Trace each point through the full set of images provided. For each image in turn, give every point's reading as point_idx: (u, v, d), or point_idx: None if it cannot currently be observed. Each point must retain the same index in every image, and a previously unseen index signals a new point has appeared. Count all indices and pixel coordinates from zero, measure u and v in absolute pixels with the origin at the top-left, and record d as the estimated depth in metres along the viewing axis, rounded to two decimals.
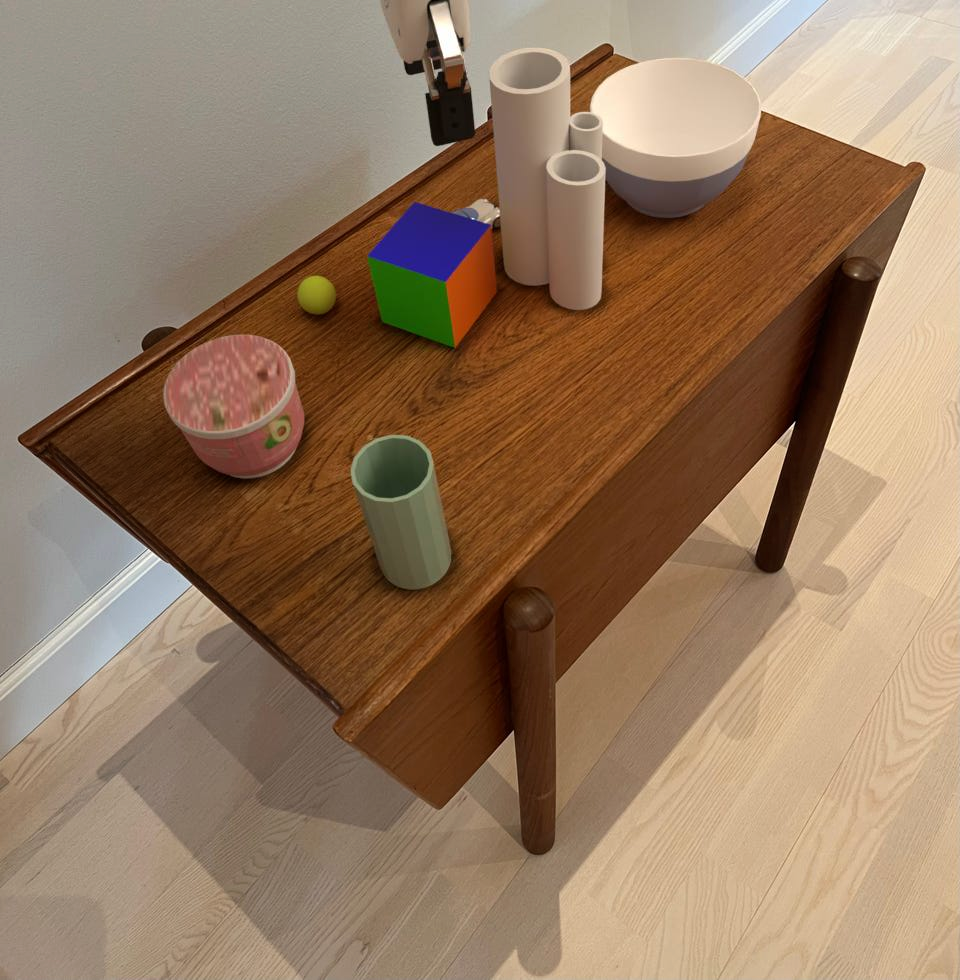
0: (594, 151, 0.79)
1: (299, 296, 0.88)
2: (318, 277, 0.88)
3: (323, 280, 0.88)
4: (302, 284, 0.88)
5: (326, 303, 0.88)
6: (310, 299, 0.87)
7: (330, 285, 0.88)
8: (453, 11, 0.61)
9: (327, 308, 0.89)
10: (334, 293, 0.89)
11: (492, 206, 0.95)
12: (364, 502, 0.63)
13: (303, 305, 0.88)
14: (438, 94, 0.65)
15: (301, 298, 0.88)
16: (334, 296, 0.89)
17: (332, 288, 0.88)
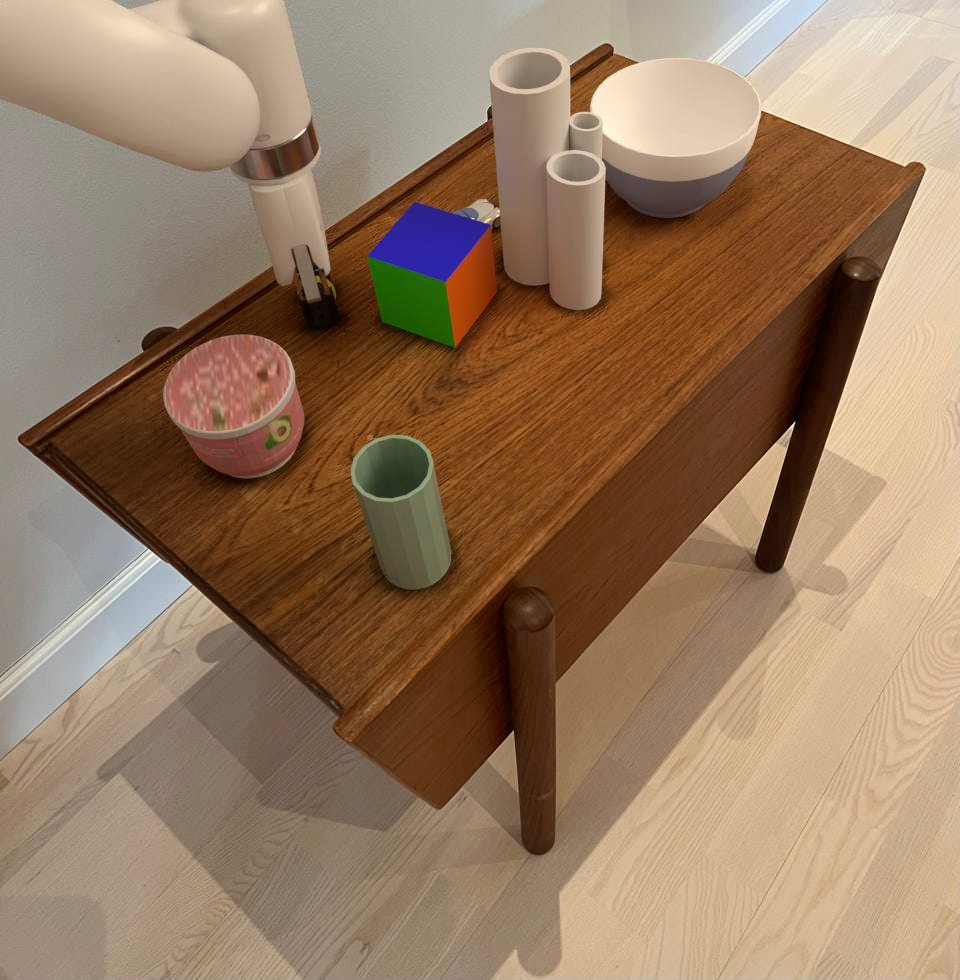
0: (594, 151, 0.79)
1: None
2: (318, 277, 0.88)
3: None
4: (302, 284, 0.88)
5: None
6: None
7: (330, 285, 0.88)
8: (312, 252, 0.79)
9: None
10: (334, 293, 0.89)
11: (492, 206, 0.95)
12: (364, 502, 0.63)
13: None
14: (305, 298, 0.85)
15: None
16: (334, 296, 0.89)
17: (332, 288, 0.88)
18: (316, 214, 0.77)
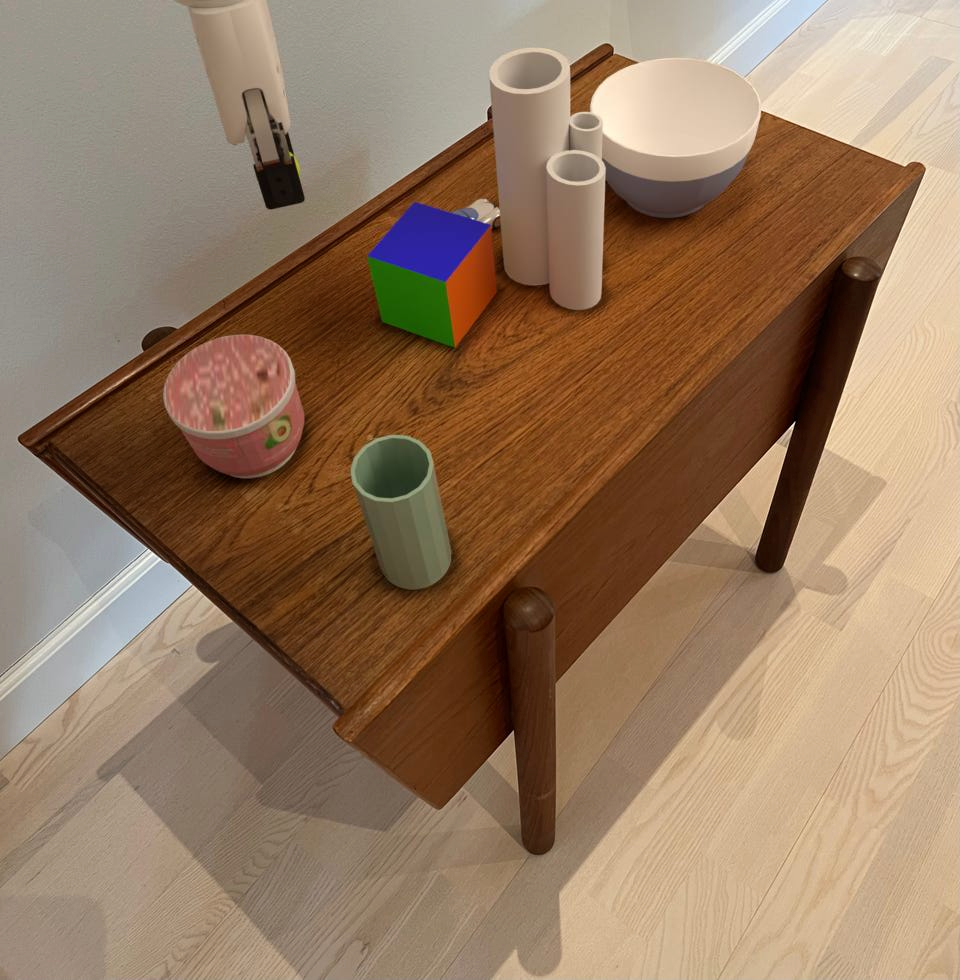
0: (594, 151, 0.79)
1: None
2: None
3: None
4: None
5: None
6: None
7: None
8: (268, 100, 0.66)
9: None
10: (298, 168, 0.76)
11: (492, 206, 0.95)
12: (364, 502, 0.63)
13: None
14: (262, 166, 0.72)
15: None
16: (298, 171, 0.76)
17: (295, 162, 0.76)
18: (271, 49, 0.64)
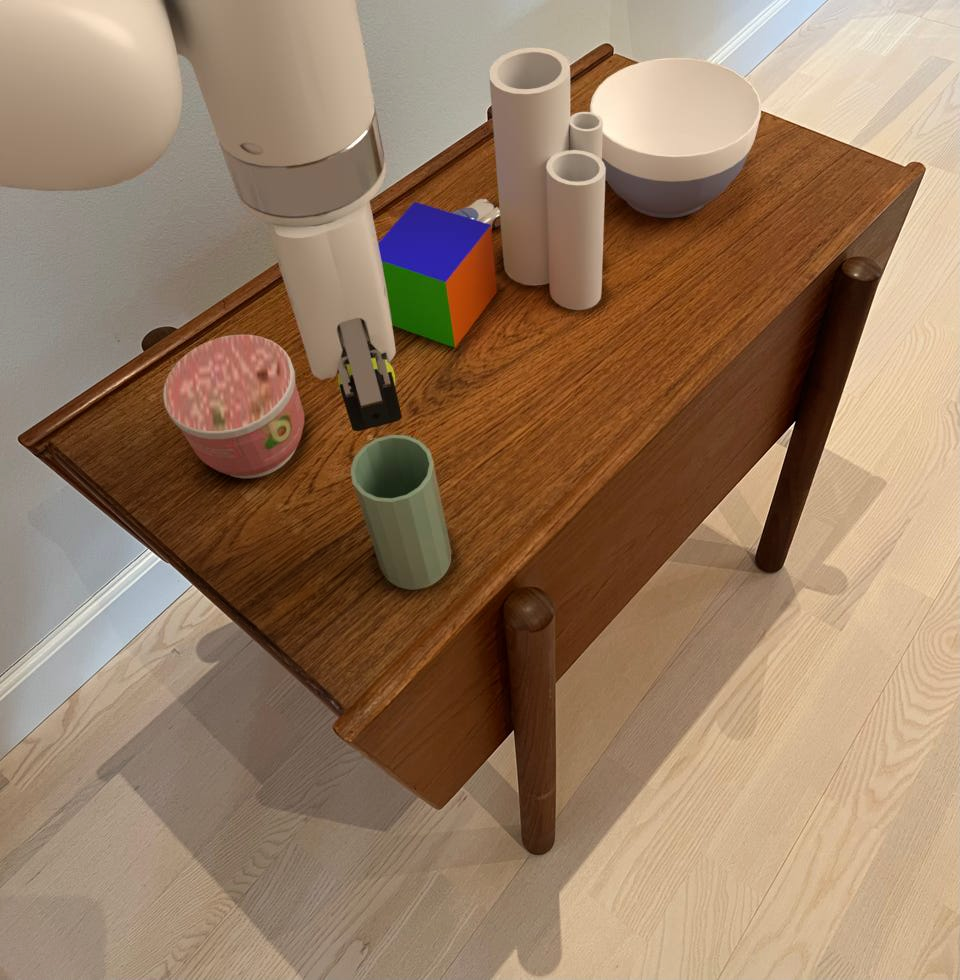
0: (594, 151, 0.79)
1: None
2: None
3: None
4: None
5: None
6: None
7: (388, 366, 0.59)
8: (371, 330, 0.49)
9: None
10: (393, 378, 0.59)
11: (492, 206, 0.95)
12: (364, 502, 0.63)
13: None
14: (353, 392, 0.55)
15: None
16: None
17: (391, 371, 0.59)
18: (379, 270, 0.47)
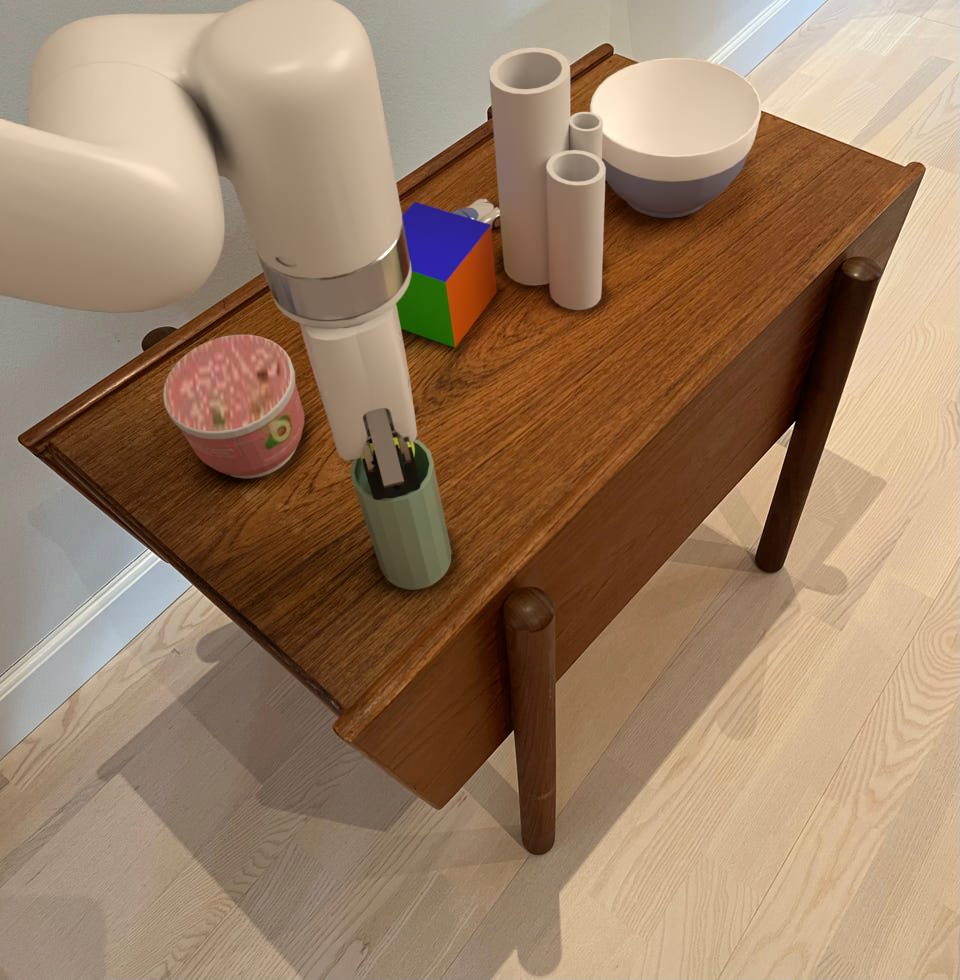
0: (594, 151, 0.79)
1: None
2: None
3: None
4: None
5: None
6: None
7: None
8: (395, 418, 0.52)
9: None
10: (413, 450, 0.62)
11: (492, 206, 0.95)
12: (364, 502, 0.63)
13: None
14: None
15: None
16: None
17: None
18: (403, 365, 0.50)
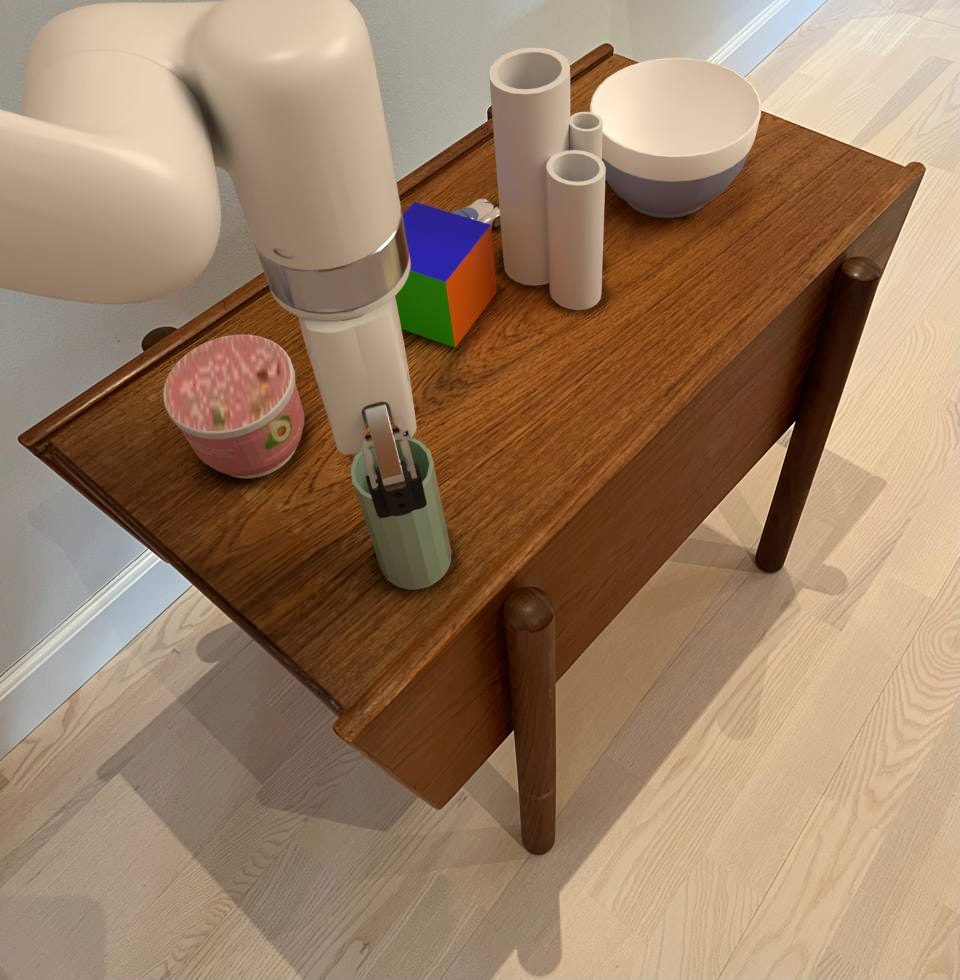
0: (594, 151, 0.79)
1: None
2: None
3: None
4: None
5: None
6: None
7: None
8: (394, 412, 0.52)
9: None
10: None
11: (492, 206, 0.95)
12: (364, 502, 0.63)
13: None
14: None
15: None
16: None
17: None
18: (402, 358, 0.50)
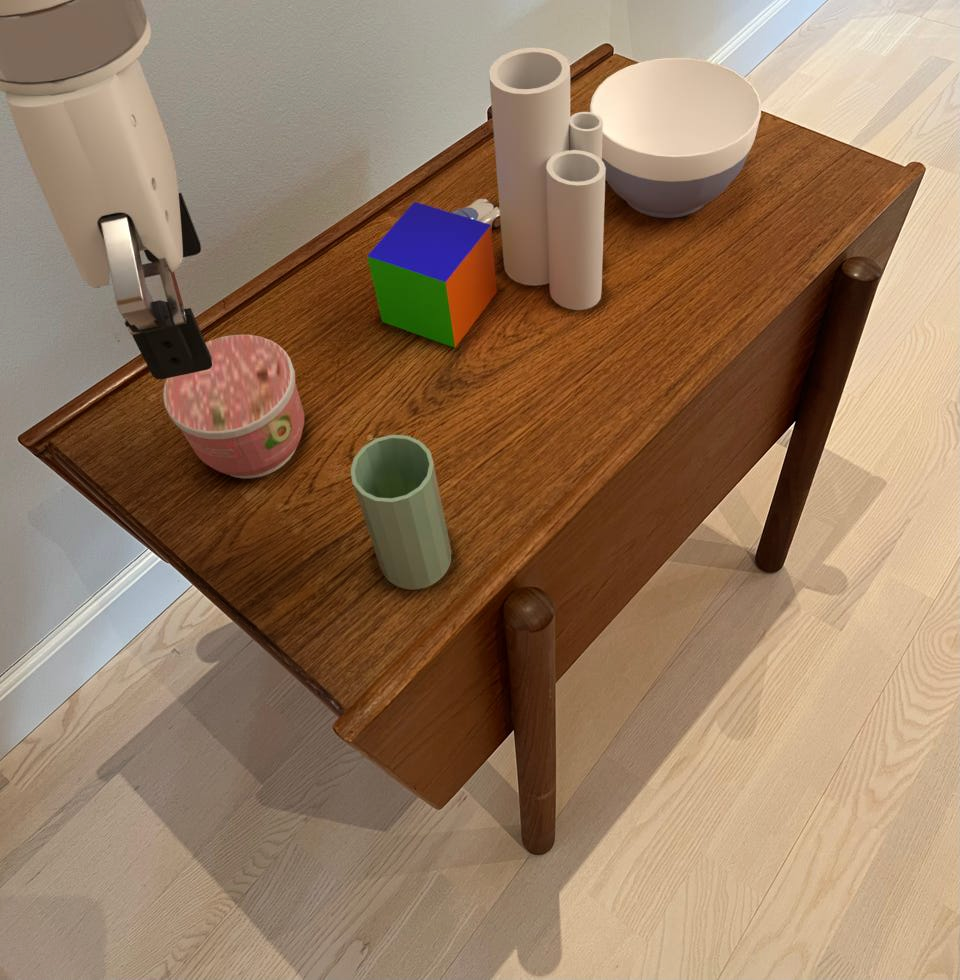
0: (594, 151, 0.79)
1: None
2: None
3: None
4: None
5: None
6: None
7: None
8: (140, 229, 0.43)
9: None
10: None
11: (492, 206, 0.95)
12: (364, 502, 0.63)
13: None
14: None
15: None
16: None
17: None
18: (141, 157, 0.42)
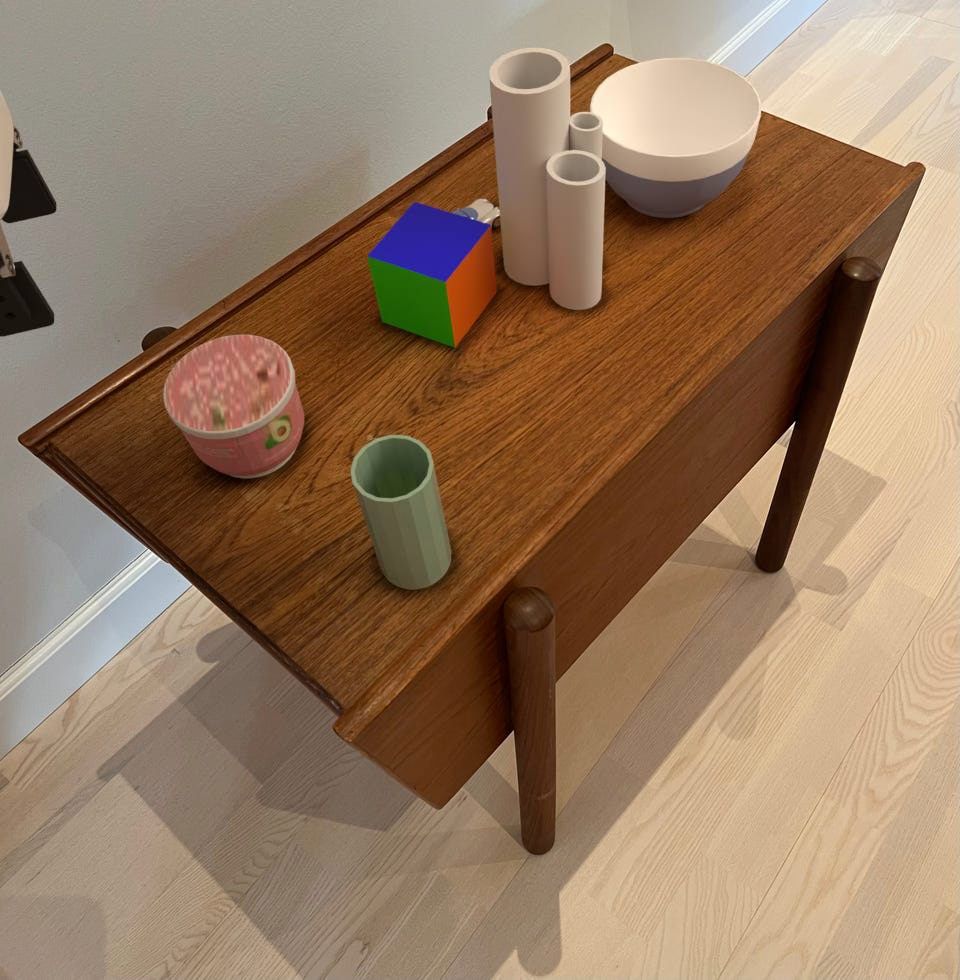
0: (594, 151, 0.79)
1: None
2: None
3: None
4: None
5: None
6: None
7: None
8: None
9: None
10: None
11: (492, 206, 0.95)
12: (364, 502, 0.63)
13: None
14: None
15: None
16: None
17: None
18: None
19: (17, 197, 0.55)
